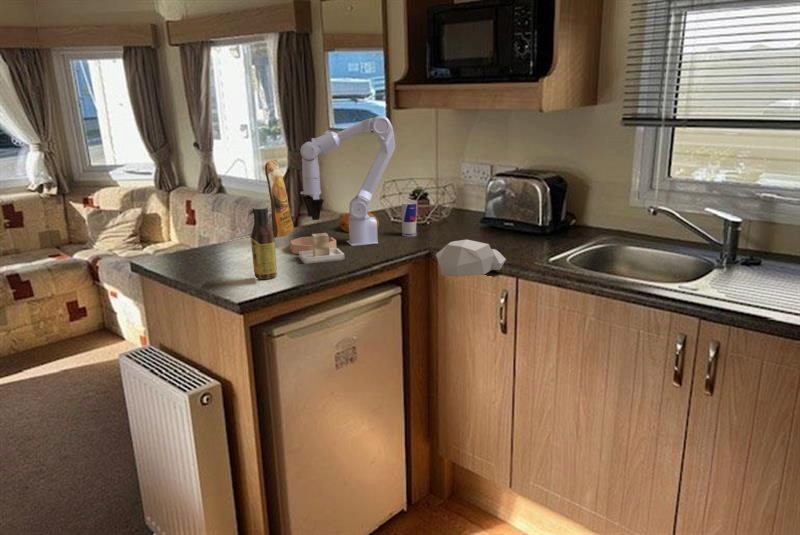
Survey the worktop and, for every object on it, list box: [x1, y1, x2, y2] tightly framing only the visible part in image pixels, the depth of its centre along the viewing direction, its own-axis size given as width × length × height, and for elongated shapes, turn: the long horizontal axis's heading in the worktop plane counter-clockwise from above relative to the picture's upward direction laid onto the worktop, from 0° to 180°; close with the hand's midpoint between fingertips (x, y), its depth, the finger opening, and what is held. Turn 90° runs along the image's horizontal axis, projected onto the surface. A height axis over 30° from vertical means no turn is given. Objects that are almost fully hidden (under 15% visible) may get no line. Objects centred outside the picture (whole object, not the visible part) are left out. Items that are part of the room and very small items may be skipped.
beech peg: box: [311, 232, 330, 257], centre depth 188 cm, size 4×4×7 cm
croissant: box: [338, 211, 380, 233], centre depth 230 cm, size 14×16×8 cm
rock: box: [435, 239, 507, 278], centre depth 169 cm, size 18×20×10 cm
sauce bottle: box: [250, 205, 278, 280], centre depth 166 cm, size 6×6×20 cm
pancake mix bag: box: [264, 159, 294, 239], centre depth 223 cm, size 7×19×28 cm, turn 172°
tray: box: [298, 247, 346, 265], centre depth 189 cm, size 13×10×2 cm
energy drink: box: [401, 201, 418, 238], centre depth 219 cm, size 5×5×12 cm
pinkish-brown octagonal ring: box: [289, 235, 338, 255], centre depth 201 cm, size 15×15×3 cm
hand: (313, 218), depth 206 cm, fingers open, 7 cm apart
